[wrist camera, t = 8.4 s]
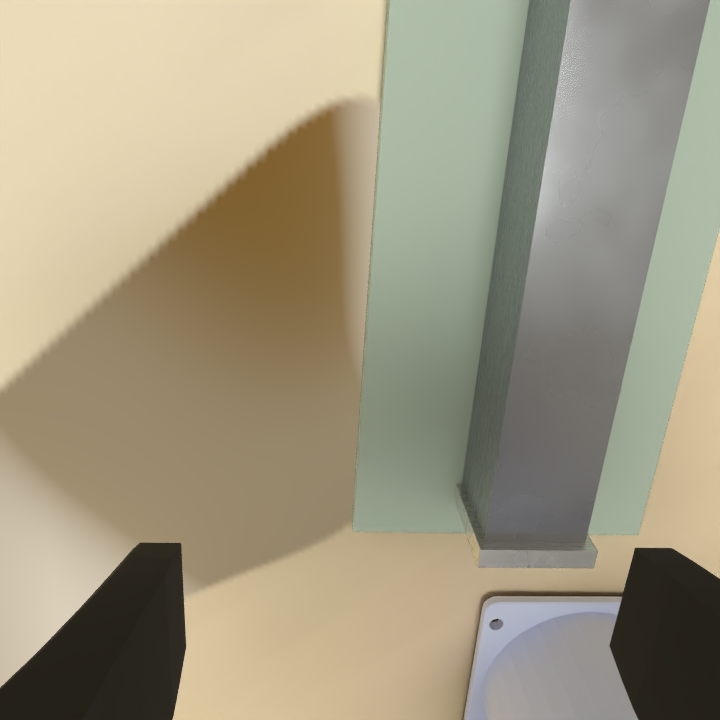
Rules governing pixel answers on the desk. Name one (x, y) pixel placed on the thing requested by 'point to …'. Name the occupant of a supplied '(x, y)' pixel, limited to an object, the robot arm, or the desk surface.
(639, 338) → the mat
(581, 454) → the rail
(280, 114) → the desk surface
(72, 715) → the robot arm
